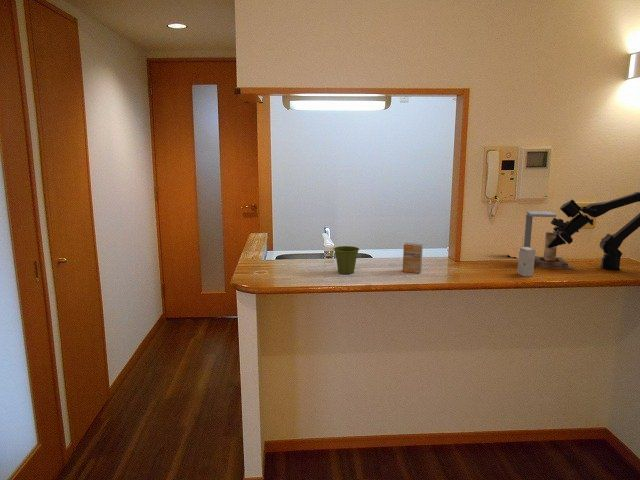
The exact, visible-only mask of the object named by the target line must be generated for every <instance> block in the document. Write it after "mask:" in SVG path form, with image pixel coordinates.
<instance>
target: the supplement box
mask: <svg viewBox="0 0 640 480" xmlns="http://www.w3.org/2000/svg"><path fill="white" fill-rule="evenodd" d="M423 247H424V243H411V242H410V243H409V242H404V243H403V252H402V255H403V256H402V272H403V273H413V274H421V272H422V269H423V268H422V267H423V250H424V249H423Z"/></svg>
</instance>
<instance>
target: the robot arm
mask: <svg viewBox="0 0 640 480" xmlns="http://www.w3.org/2000/svg"><path fill="white" fill-rule="evenodd" d="M634 203H635V204H636V203H640V191H635V192H634V193H630V194H627V195H624V196H620V197H617V198H615V199H612V200H608V201H602V202H595V203H594V202H593V203H590V204H588V205H586V206H579V205H578V204H577V203H576V201H575V200H574V199H571V200H569V201H567V202H565V203H563V204H562V205H561V206H560V208H559V210H560V211H561V212H562V213H563V214H564V215H565V216H566V217H568V218H572V219H570V220H566V221H564V219H562V218H557V217H552V220H551V222H550V224H551V225H552V226H554V227H553V228H552V229H553V230H552V233H556V238H555V239H554V240H553V241H552V242H551V243H550V244H549V245H548V247H549V248H552V247H555V246H557V247H559V246H562V245H565V244H568V245H570V244H571V243H573V241H574V240H573V239H574V238H573V237H572V236H573V235H575V234H576V233H579V232H580V230H581V229H582V228H583V227H586V225H587V224H589V225H590V226H594V218H598V217H600V216H602V215H605V214H606V213H608V212H609V211H612V210H615V209H618V208H621V207H622V208H623V207H624V206H628V205H631V204H634ZM591 217H592V218H591ZM639 228H640V212H638V214H637V215H636V216H634V217H633V218H632V219H631V220H630V221H628V222H627V223H626V224H625V225H624V226H622V227H621V228H620V229H619V230H617V232H615V233H613V234H610V233H607V234H606V235H605V236H604V237H602V238H600V240H601V241H600V242H599V248H600V250H601V251H603V255H602V257H601V263H600V267H601V268H603V269H604V270H608V271H609V270H611V271H613V270H614V271H621V268H620V267H621V266H620V265H621V258H622V256H623V252H621V250H619V248H620V247H621V245H622V244H623V242H624V240H626V239H627V238H628V237H629V236H630V235H632V234H633V233H634V232H635V231H636V230H638V229H639Z"/></svg>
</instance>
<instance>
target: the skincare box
mask: <svg viewBox="0 0 640 480" xmlns="http://www.w3.org/2000/svg"><path fill="white" fill-rule="evenodd" d="M536 251H537V250H536V249H534V248H533V247H532V248H531V247H530V248H529V247H524V246H522V247H520V251H519V258H518V261H517V262H518V263H517V270H516V273H517V275H520V276H522V277H533V276H534V260H535V256H536Z"/></svg>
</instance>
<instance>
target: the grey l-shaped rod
mask: <svg viewBox="0 0 640 480" xmlns="http://www.w3.org/2000/svg"><path fill="white" fill-rule="evenodd" d="M525 213H526V214H525V226H524V237H523V238H524V239H523V247H529V248H531V241H532V232H533V231H532V228H533V218H536V217H539V218H540V217H541V218H557V213H554V211H553V212H552V211H549V210H548V211H547V210H546V211H542V210H541V211H540V210H526V212H525Z"/></svg>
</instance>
